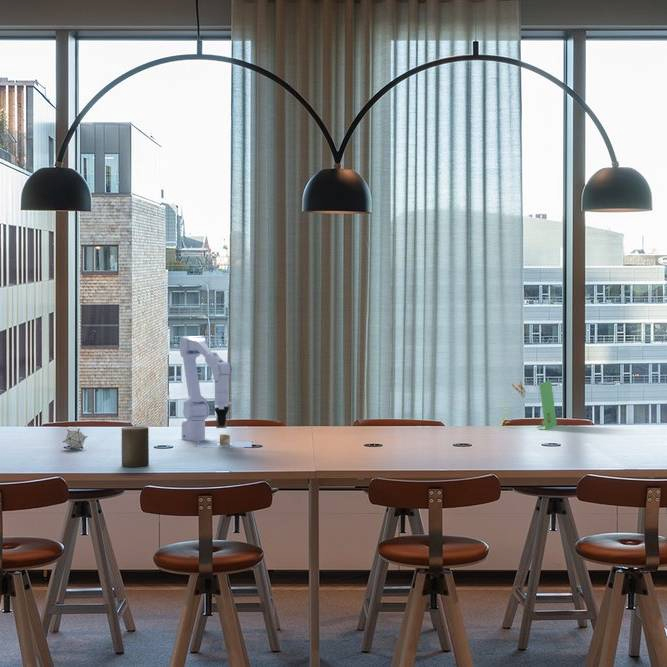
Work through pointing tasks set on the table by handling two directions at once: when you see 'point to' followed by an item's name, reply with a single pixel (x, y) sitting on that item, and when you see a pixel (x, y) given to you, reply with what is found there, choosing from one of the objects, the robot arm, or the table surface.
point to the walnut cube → (221, 426)
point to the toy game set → (546, 404)
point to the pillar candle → (135, 446)
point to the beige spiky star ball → (75, 439)
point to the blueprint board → (217, 444)
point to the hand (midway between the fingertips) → (221, 425)
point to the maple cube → (224, 439)
